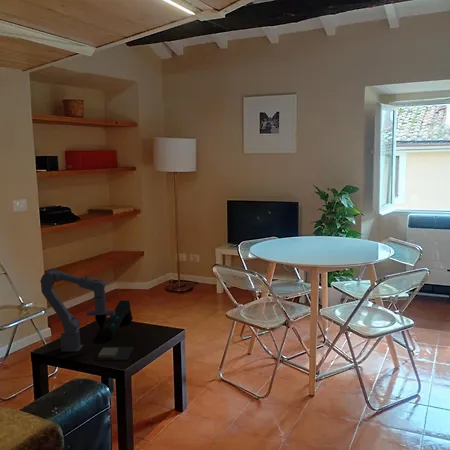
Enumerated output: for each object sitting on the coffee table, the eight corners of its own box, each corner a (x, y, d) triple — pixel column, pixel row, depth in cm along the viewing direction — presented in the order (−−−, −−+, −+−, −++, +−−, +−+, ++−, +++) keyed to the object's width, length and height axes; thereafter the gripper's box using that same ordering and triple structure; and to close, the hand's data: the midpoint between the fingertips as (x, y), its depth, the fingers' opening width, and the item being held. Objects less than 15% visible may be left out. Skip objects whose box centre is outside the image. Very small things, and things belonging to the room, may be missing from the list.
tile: (103, 350, 249) (98, 358, 240) (103, 347, 248) (98, 355, 240) (118, 350, 248) (114, 358, 240) (118, 347, 248) (113, 355, 239)
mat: (95, 360, 238) (95, 359, 238) (103, 348, 253) (103, 347, 253) (127, 360, 238) (127, 359, 238) (133, 348, 253) (133, 347, 253)
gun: (133, 318, 294) (129, 297, 287) (117, 350, 268) (112, 329, 261) (123, 317, 295) (119, 297, 288) (106, 350, 269) (100, 329, 262)
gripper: (115, 301, 255) (117, 325, 257) (88, 301, 255) (90, 325, 257) (112, 305, 248) (114, 330, 250) (84, 305, 248) (86, 330, 250)
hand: (101, 328), depth 253 cm, fingers closed
